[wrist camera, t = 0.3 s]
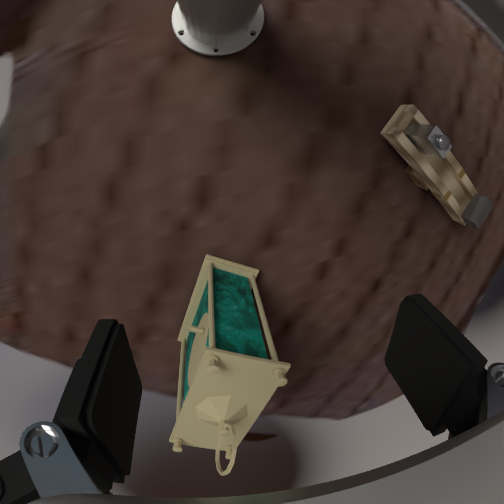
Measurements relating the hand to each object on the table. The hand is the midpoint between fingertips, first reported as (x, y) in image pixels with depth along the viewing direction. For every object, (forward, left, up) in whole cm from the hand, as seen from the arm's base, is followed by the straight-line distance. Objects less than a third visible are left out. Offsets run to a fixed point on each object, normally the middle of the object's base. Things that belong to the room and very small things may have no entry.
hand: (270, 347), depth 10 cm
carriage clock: (+21, -1, -36) cm, 42 cm away
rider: (-8, +27, -31) cm, 41 cm away
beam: (-4, +33, -36) cm, 48 cm away
